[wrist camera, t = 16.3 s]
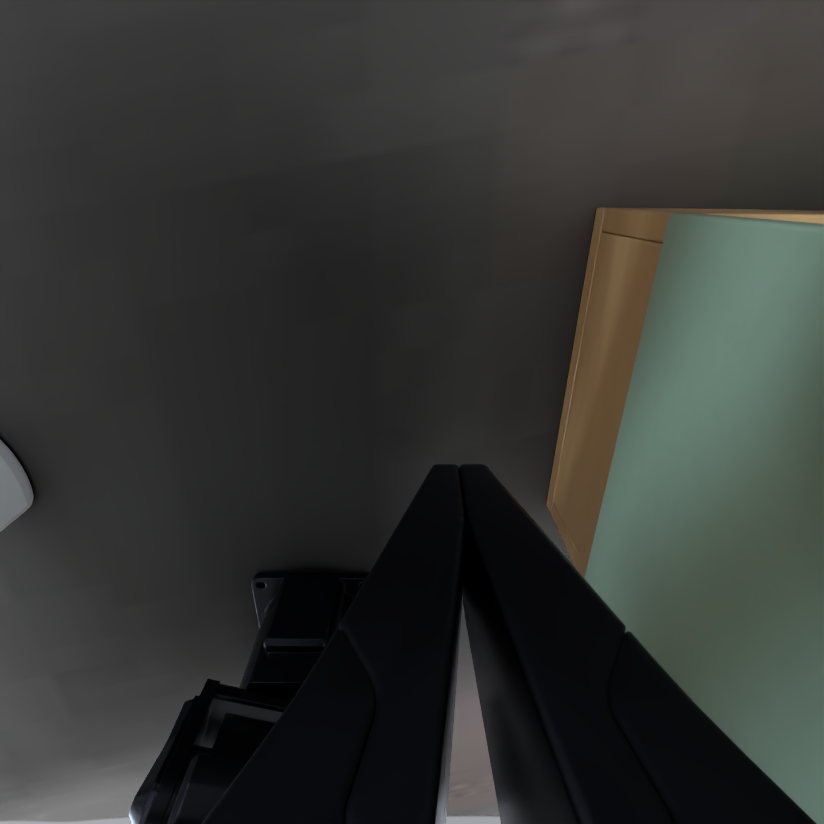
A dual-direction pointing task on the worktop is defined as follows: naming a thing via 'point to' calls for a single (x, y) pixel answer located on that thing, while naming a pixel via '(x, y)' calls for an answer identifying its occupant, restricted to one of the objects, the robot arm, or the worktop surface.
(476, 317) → the worktop surface
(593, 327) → the box
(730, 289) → the lid
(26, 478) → the eye dropper bottle
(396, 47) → the worktop surface
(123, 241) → the worktop surface
